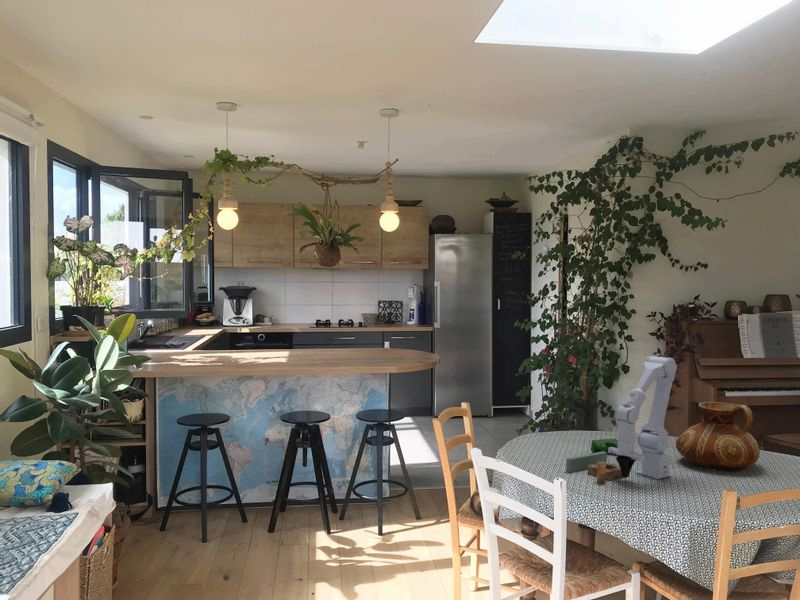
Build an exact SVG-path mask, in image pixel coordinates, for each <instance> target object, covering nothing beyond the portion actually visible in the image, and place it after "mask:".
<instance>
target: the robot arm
mask: <svg viewBox="0 0 800 600" xmlns="http://www.w3.org/2000/svg"><path fill="white" fill-rule="evenodd" d="M677 368H678V366H677V364H676V360H674V358H672V357H663V356H654V355H648V356H647V357H646V358H645V361H644V362H643V372H642V375H641V376H640V379H639V381H638V383H637V385H636V387H635V388H633V389H631V390H630V391H629V393H628V395H627V397H626V398H625V400H624V401H623V403H622V405H620V406H618V407H616V409H615V412H614V415H613V416H614V418H615V420H616V425H617V440H618V448H614V447H609V448H608V453H607V454H612V453H613V454H612V455H614V454H616V457H615V460H616V462H617V465H618V466H620V469H621V473H622V478H625V479H626V478H629V477H630V474H631V471H632V467H633V466H634V464H635V462H636V461H638V462H640V463H641V470H637V471H636V474H640V475H644V476H645V477H649V478H653V479H655V480H659V479H664V478H668V477H671V473H670V469H671V466H670V465H671V462H670V461H671V460H670V456H669V455H668V454H666V453H665V451H666V450H667V449H668V446H669V440H668V439H669V432H668V431H667V430H666V428H665V427H664V423H665V418H666V414H667V409H668V406H669V401H670V395H671V392H672V391H671V390H672V388H673V387H672V385H673V382H674V381H675V377H676V373H677ZM654 381H655V382H656V384H655V385H656V386H655V389H654V394H653V399H652V403H651V407H650V412H649V415H648V416H649V417H648V421H647V423H645V424H643V425H642V426H640V431H639V432H638V434H637V437H636V436H635V434H636V430H635V429H636V423H637V422H638V420H639V417H640V412H641V411H640V409H641V408H642V406H643V403H644V402H645V400H646V398H647V397H646V396H647V395H646V393H647V391H648V389H649V388H650V387H651V385H652V384H653V382H654ZM635 437H636V439H635ZM635 440H636V441H637V442H635ZM636 443H637V445H638V447H639V448H640V450H641V453H639V452H636V451H635V444H636ZM617 455H618V456H617Z"/></svg>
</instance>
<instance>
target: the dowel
mask: <svg viewBox="0 0 800 600" xmlns="http://www.w3.org/2000/svg"><path fill="white" fill-rule="evenodd" d="M606 481H607V480H606V463H605V462H597V476H596V483H598V484H606Z"/></svg>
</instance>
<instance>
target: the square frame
mask: <svg viewBox="0 0 800 600" xmlns="http://www.w3.org/2000/svg"><path fill="white" fill-rule="evenodd" d="M605 463H606V481H612V480H617V479H621V478H623V477H622V473H621V469H620V466H619V464H615V463H611V462H608V461H607V462H605ZM587 474H588V475H591V476H594V477H597V464H593V465H588V469H587Z"/></svg>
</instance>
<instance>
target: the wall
mask: <svg viewBox="0 0 800 600" xmlns="http://www.w3.org/2000/svg"><path fill="white" fill-rule="evenodd" d="M607 457H608V453H607V452H603V451H602V452H597V453H593V452H592V453H587V454H582V455H577V456H571V457H567V458H565V459H566V460H565V461H566V464H565V467H566V468H565V469H566V470H565V471H566V472H567V473H570V474H571V473H575V472H580V470H581V471H584V470H585V469H586V470H588V465H593V464H597V462H608V458H607ZM586 470H585V471H586Z"/></svg>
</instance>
